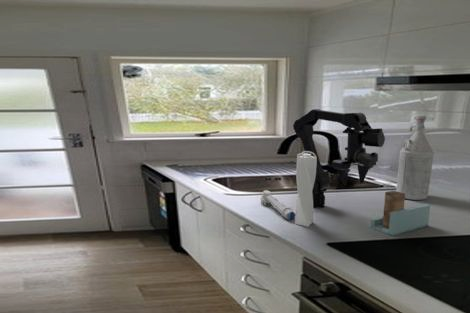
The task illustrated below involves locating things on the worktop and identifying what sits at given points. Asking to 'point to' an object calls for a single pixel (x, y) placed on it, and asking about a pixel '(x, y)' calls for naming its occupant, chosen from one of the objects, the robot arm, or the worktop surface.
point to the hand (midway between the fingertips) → (353, 184)
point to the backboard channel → (404, 220)
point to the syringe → (277, 205)
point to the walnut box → (392, 205)
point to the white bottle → (415, 164)
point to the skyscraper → (305, 187)
